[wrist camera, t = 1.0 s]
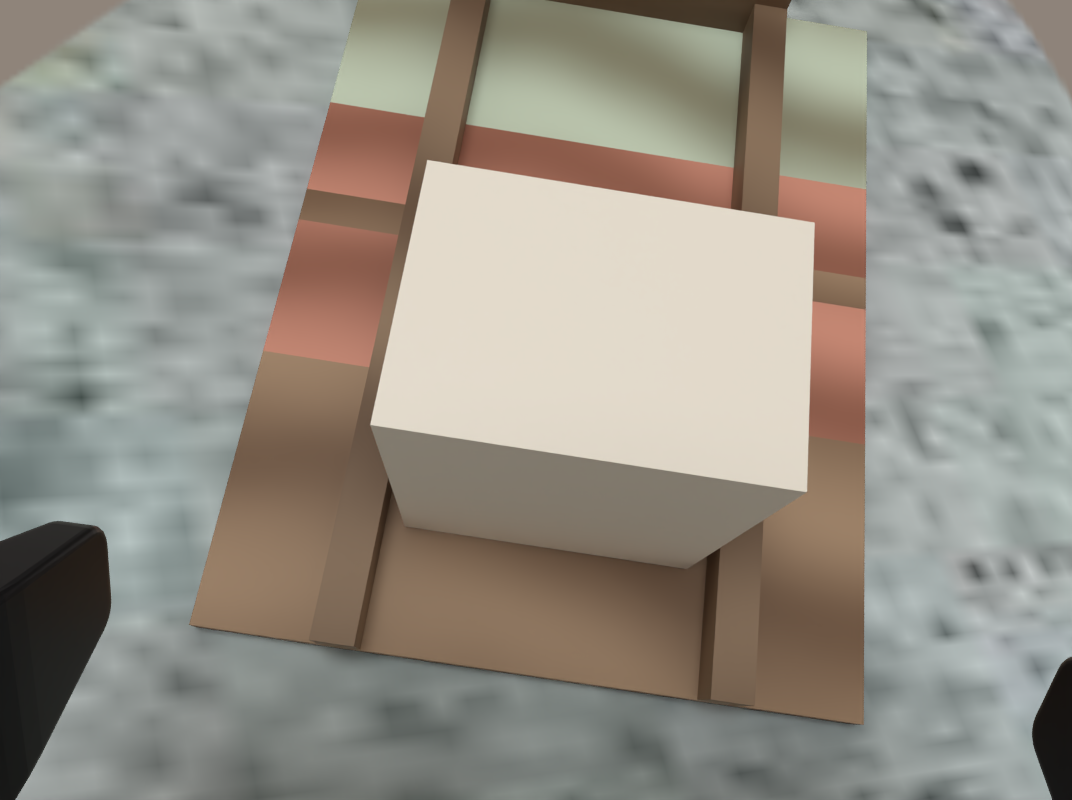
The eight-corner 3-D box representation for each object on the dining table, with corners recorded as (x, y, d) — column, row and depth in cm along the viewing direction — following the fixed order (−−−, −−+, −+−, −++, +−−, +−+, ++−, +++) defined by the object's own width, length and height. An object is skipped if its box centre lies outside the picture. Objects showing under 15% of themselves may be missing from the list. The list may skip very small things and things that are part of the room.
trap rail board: (853, 724, 21) (926, 727, 18) (196, 626, 21) (143, 610, 17) (858, 45, 28) (912, -46, 25) (373, -36, 28) (360, -139, 24)
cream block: (686, 568, 21) (807, 492, 14) (405, 526, 21) (369, 424, 14) (700, 381, 23) (814, 222, 15) (440, 341, 23) (427, 160, 15)
